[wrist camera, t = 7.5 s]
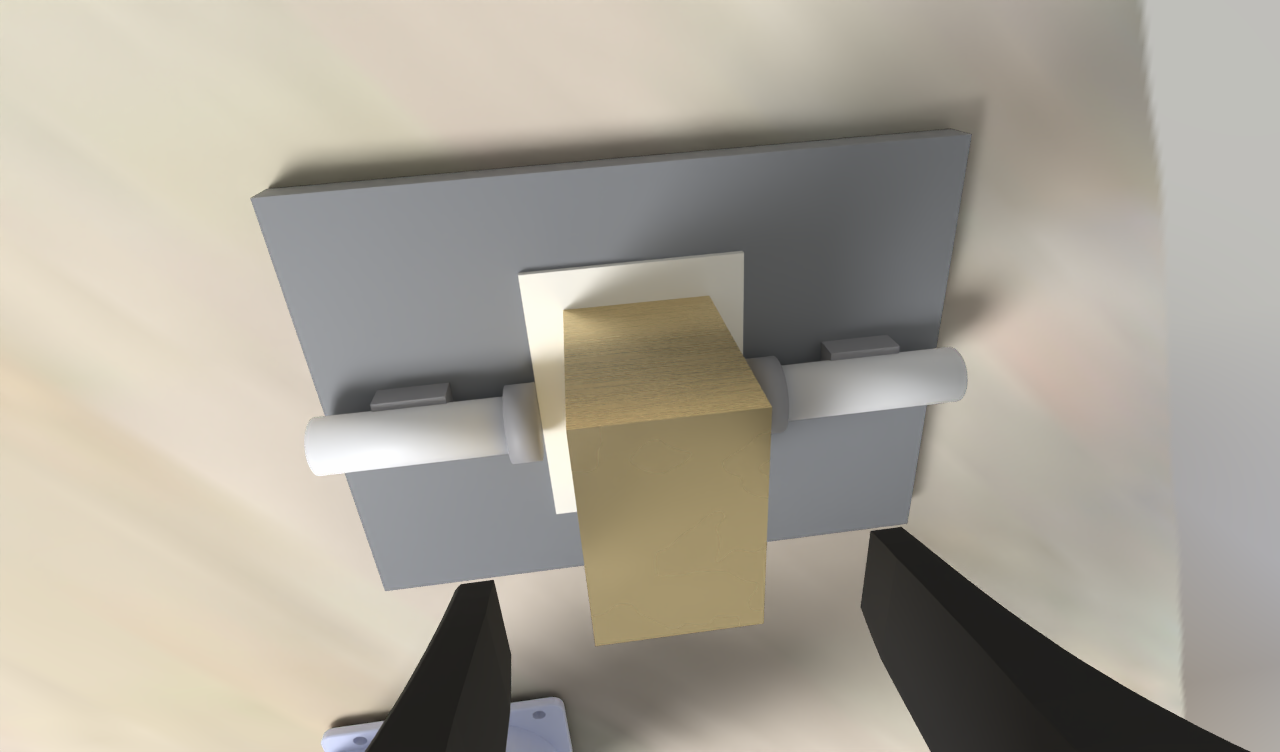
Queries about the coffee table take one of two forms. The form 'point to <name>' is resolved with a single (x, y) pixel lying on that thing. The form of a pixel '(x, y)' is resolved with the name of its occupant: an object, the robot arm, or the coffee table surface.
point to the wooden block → (666, 468)
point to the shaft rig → (601, 276)
